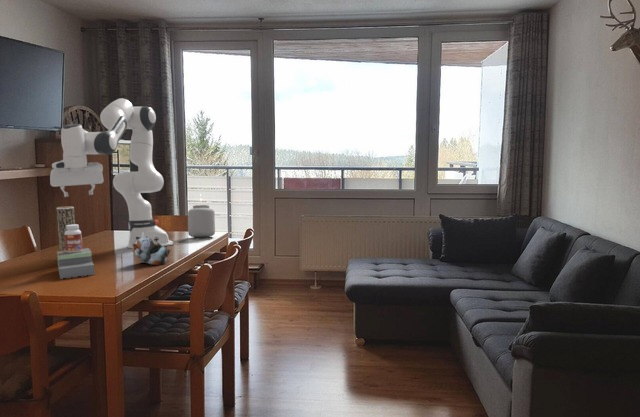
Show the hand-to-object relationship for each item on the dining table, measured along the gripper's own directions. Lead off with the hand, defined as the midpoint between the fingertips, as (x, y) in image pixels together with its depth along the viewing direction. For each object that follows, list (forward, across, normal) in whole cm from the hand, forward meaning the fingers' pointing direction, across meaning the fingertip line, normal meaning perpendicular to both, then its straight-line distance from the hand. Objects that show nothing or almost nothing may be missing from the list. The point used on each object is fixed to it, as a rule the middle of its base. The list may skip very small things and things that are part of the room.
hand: (78, 195), depth 202 cm
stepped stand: (+30, +5, +13) cm, 33 cm away
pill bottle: (+22, +4, +9) cm, 24 cm away
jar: (+34, -64, -38) cm, 81 cm away
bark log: (+31, +6, -9) cm, 33 cm away
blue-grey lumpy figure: (+31, -25, +14) cm, 42 cm away
